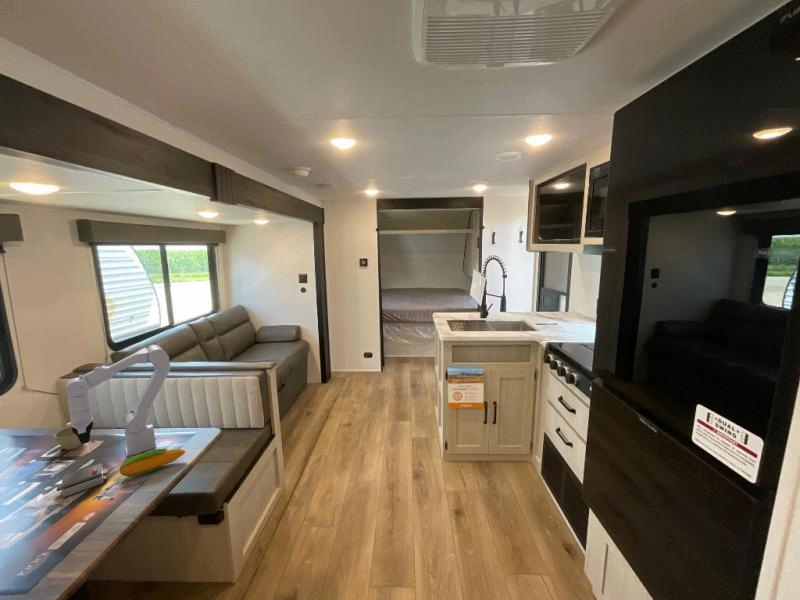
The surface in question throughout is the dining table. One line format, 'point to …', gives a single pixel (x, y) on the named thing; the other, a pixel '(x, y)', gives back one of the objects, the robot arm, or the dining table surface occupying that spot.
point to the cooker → (83, 485)
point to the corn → (149, 461)
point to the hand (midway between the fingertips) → (85, 442)
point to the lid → (81, 475)
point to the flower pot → (67, 439)
